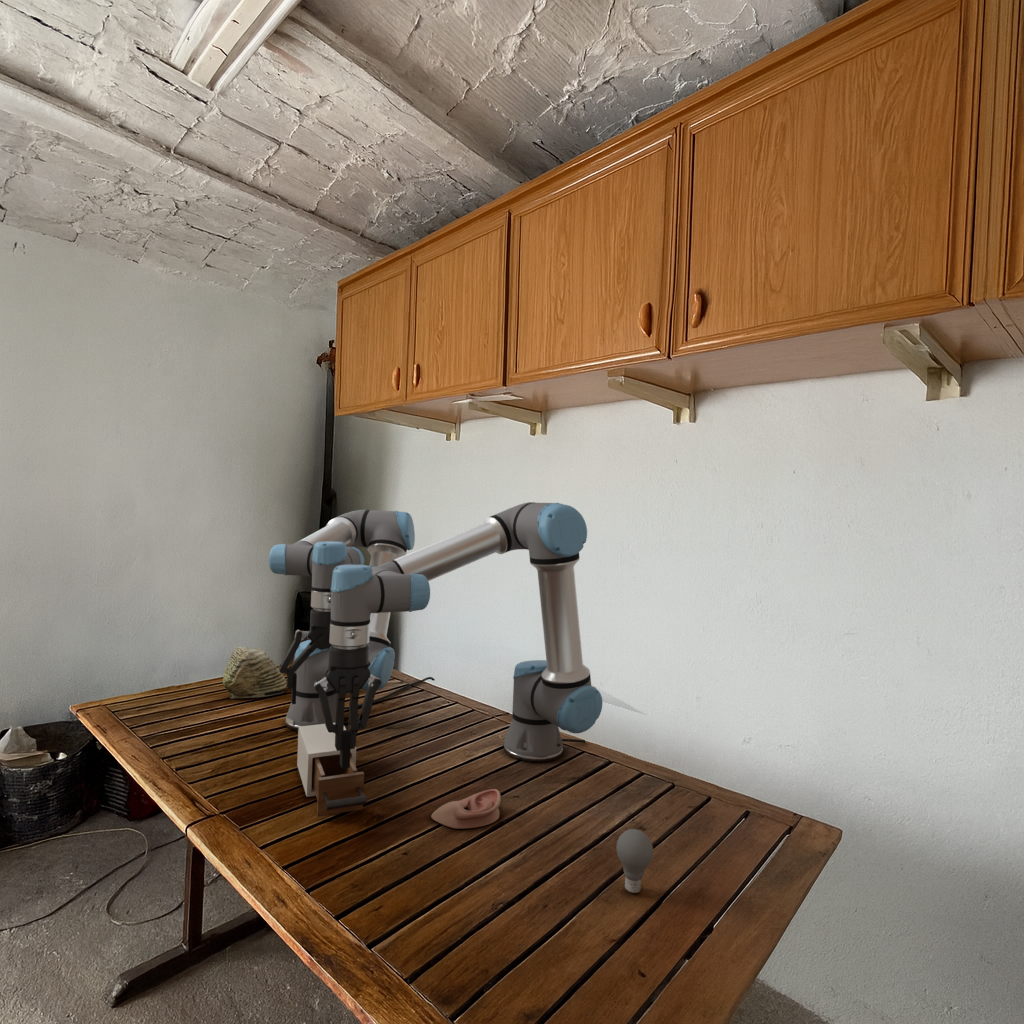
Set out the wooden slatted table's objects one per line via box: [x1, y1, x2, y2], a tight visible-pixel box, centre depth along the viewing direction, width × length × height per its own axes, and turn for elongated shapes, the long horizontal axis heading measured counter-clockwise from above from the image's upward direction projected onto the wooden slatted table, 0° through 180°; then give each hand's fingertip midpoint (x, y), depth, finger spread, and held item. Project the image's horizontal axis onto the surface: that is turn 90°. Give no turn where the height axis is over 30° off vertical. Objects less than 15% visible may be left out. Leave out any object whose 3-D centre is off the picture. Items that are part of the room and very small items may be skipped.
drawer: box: [312, 754, 368, 818], centre depth 130 cm, size 22×9×7 cm, turn 25°
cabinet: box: [296, 723, 357, 798], centre depth 143 cm, size 17×10×9 cm, turn 25°
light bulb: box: [615, 828, 654, 894], centre depth 106 cm, size 6×6×10 cm
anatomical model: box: [430, 788, 502, 830], centre depth 128 cm, size 13×4×12 cm
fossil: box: [222, 646, 287, 699], centre depth 198 cm, size 9×18×15 cm, turn 132°
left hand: (324, 699), depth 147 cm, fingers open, 13 cm apart
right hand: (344, 765), depth 123 cm, fingers closed
